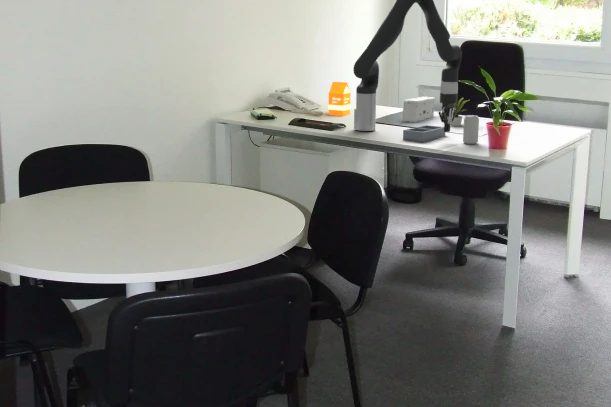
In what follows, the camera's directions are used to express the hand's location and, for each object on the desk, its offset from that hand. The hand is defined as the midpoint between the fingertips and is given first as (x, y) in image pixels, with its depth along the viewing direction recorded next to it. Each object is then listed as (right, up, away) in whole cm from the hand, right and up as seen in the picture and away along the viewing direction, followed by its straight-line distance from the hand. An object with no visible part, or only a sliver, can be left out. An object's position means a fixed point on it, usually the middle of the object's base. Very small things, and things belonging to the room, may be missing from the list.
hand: (446, 131), depth 348 cm
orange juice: (-44, +12, +67) cm, 81 cm away
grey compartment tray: (-8, -2, +11) cm, 14 cm away
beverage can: (+10, -5, -1) cm, 11 cm away
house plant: (+12, +5, +39) cm, 41 cm away
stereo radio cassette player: (-4, +9, +55) cm, 56 cm away
